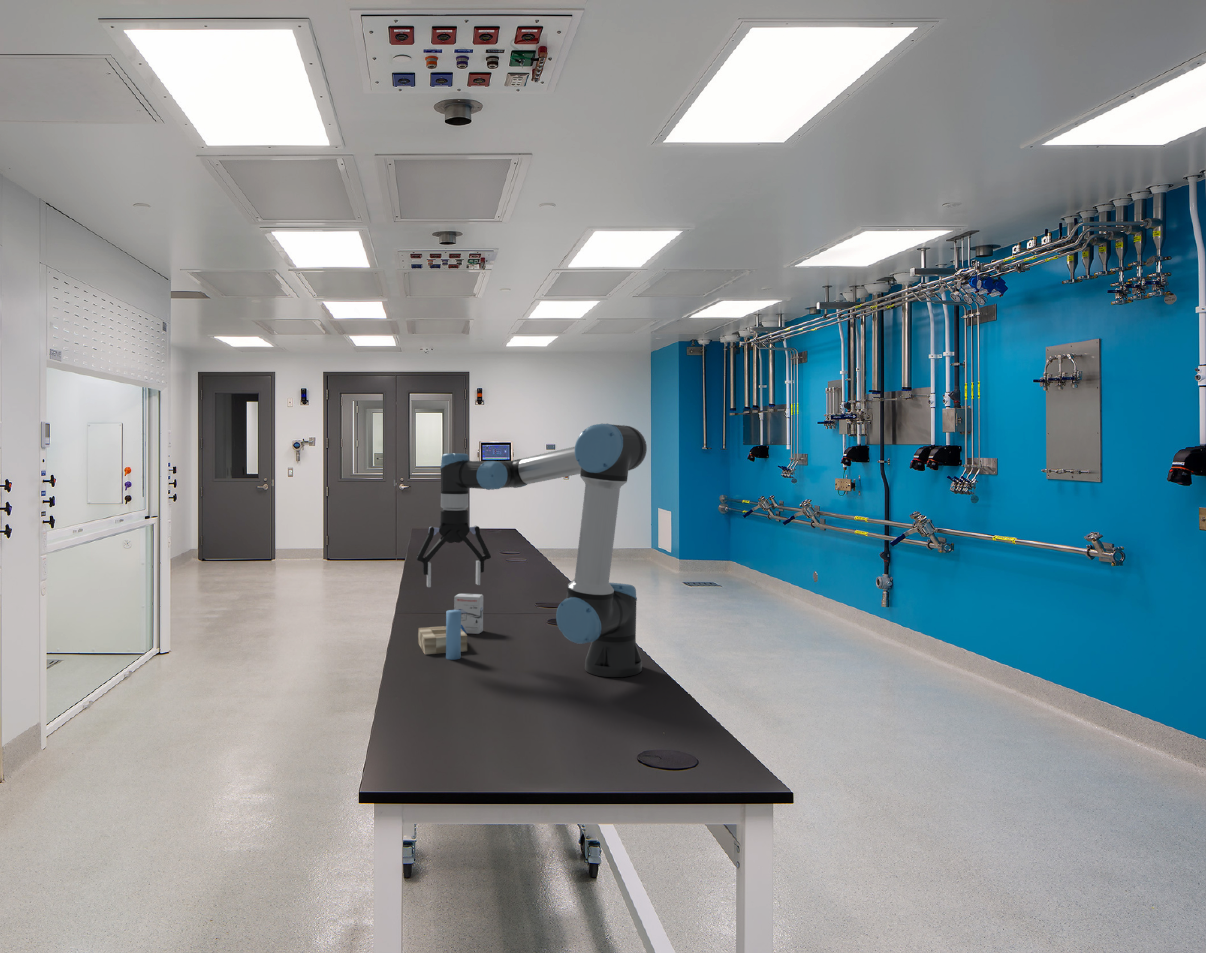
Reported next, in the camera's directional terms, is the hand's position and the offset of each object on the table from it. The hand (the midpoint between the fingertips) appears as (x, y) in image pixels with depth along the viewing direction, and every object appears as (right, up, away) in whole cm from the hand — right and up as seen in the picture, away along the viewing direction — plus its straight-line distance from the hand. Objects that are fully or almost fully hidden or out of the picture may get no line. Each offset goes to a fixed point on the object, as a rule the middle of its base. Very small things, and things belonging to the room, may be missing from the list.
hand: (453, 585), depth 215 cm
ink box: (-1, -20, +32) cm, 38 cm away
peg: (0, -20, 0) cm, 20 cm away
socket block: (-6, -20, +12) cm, 24 cm away
